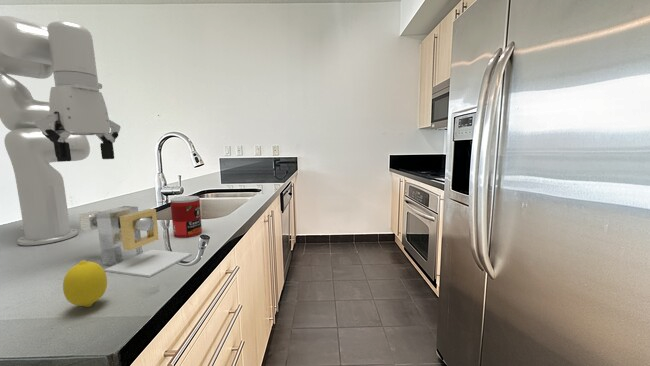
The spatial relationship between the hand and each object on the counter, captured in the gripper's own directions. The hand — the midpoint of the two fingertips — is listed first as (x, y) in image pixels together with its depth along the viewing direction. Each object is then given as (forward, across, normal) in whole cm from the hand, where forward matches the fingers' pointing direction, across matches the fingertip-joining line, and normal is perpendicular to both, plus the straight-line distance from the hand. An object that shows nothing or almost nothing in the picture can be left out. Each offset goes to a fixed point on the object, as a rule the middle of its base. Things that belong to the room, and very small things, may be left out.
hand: (87, 160), depth 66 cm
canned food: (+24, -20, +8) cm, 32 cm away
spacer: (+16, 0, +13) cm, 21 cm away
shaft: (+16, 0, +7) cm, 18 cm away
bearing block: (+24, 0, +7) cm, 25 cm away
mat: (+24, 0, +15) cm, 28 cm away
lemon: (+24, +18, +20) cm, 36 cm away
